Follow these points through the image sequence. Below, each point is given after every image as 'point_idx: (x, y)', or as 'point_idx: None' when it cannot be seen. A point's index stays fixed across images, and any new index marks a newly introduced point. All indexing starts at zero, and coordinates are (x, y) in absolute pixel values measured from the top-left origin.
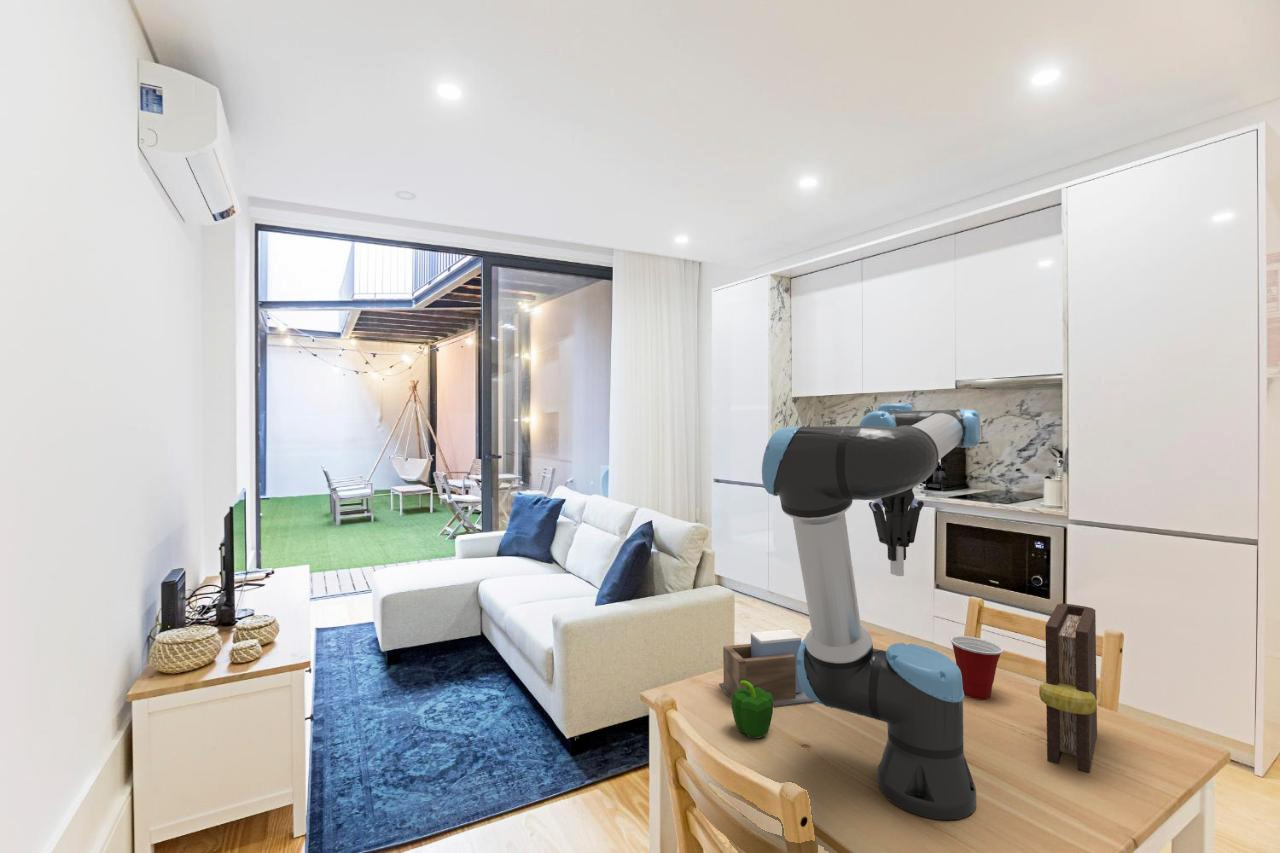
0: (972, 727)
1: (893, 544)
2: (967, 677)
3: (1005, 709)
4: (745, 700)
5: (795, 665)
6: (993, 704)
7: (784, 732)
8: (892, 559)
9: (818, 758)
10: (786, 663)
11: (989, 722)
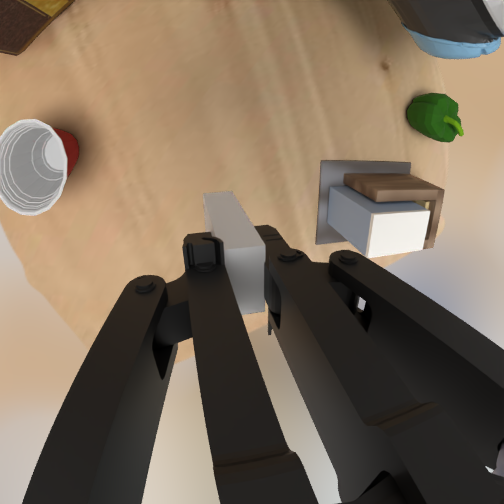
0: (140, 46)
1: (303, 252)
2: (71, 141)
3: (53, 98)
4: (457, 110)
5: (358, 198)
6: (58, 115)
7: (392, 100)
8: (268, 228)
9: (383, 39)
10: (384, 187)
11: (104, 58)
